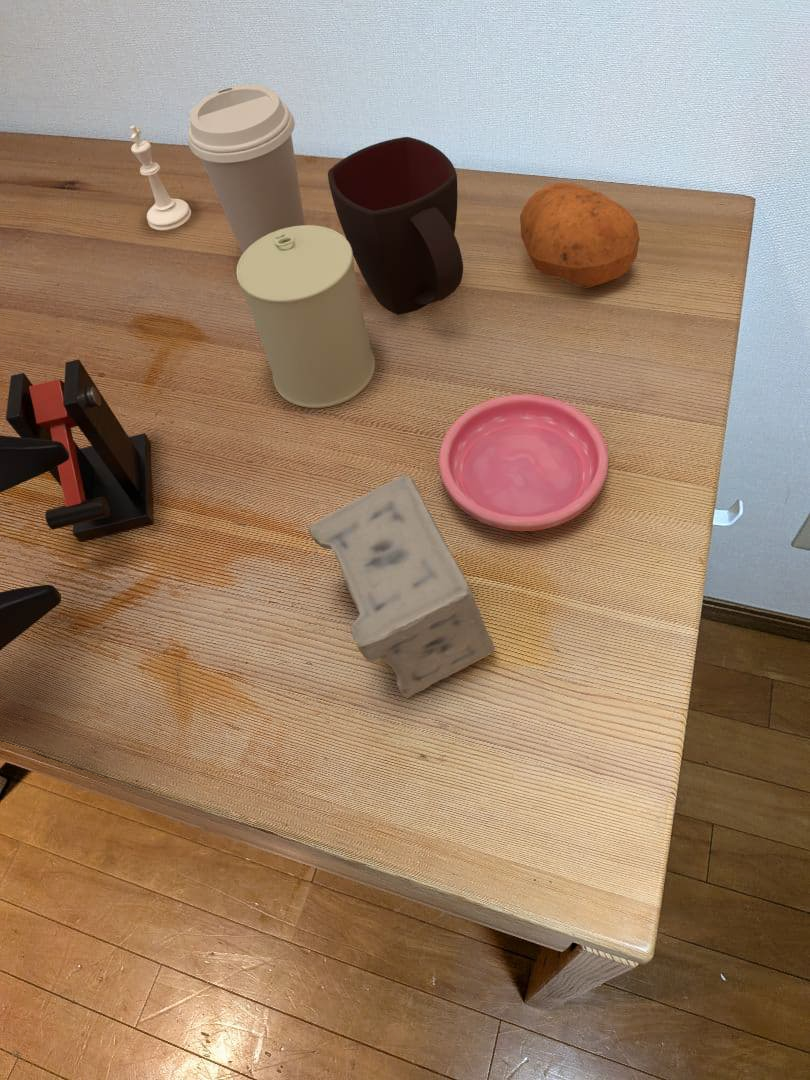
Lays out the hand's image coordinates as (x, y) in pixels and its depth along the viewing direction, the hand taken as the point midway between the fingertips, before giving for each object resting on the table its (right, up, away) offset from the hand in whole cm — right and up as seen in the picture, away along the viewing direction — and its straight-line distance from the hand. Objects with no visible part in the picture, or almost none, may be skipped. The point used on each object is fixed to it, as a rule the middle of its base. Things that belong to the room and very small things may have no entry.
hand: (61, 516), depth 37 cm
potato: (+33, +25, +34) cm, 53 cm away
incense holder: (+18, -7, +15) cm, 24 cm away
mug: (+18, +21, +34) cm, 44 cm away
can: (+10, +14, +30) cm, 34 cm away
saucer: (+26, +3, +21) cm, 34 cm away
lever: (-7, +5, +17) cm, 19 cm away
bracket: (-7, +3, +25) cm, 26 cm away
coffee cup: (+4, +28, +40) cm, 49 cm away
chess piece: (-9, +35, +46) cm, 59 cm away
